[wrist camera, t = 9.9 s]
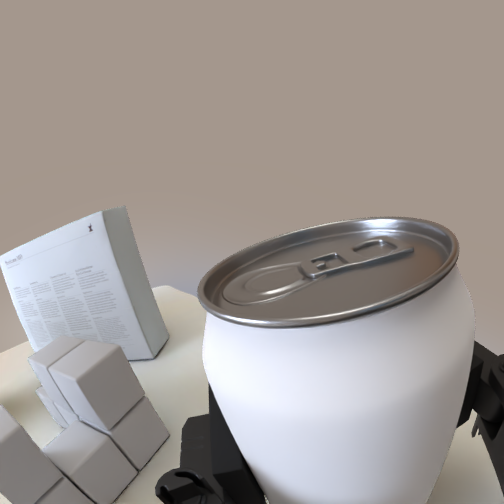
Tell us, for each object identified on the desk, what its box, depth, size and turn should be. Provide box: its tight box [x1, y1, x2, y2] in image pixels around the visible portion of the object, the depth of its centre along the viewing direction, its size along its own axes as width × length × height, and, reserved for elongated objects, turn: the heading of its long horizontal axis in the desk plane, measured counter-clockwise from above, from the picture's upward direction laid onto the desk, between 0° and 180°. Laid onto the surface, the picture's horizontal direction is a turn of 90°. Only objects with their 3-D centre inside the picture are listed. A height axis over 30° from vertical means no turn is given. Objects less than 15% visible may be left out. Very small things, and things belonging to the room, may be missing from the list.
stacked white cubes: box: [0, 335, 169, 504], centre depth 14 cm, size 12×12×8 cm
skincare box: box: [0, 206, 169, 360], centre depth 31 cm, size 21×5×16 cm, turn 84°
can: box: [197, 217, 475, 504], centre depth 8 cm, size 6×6×12 cm
